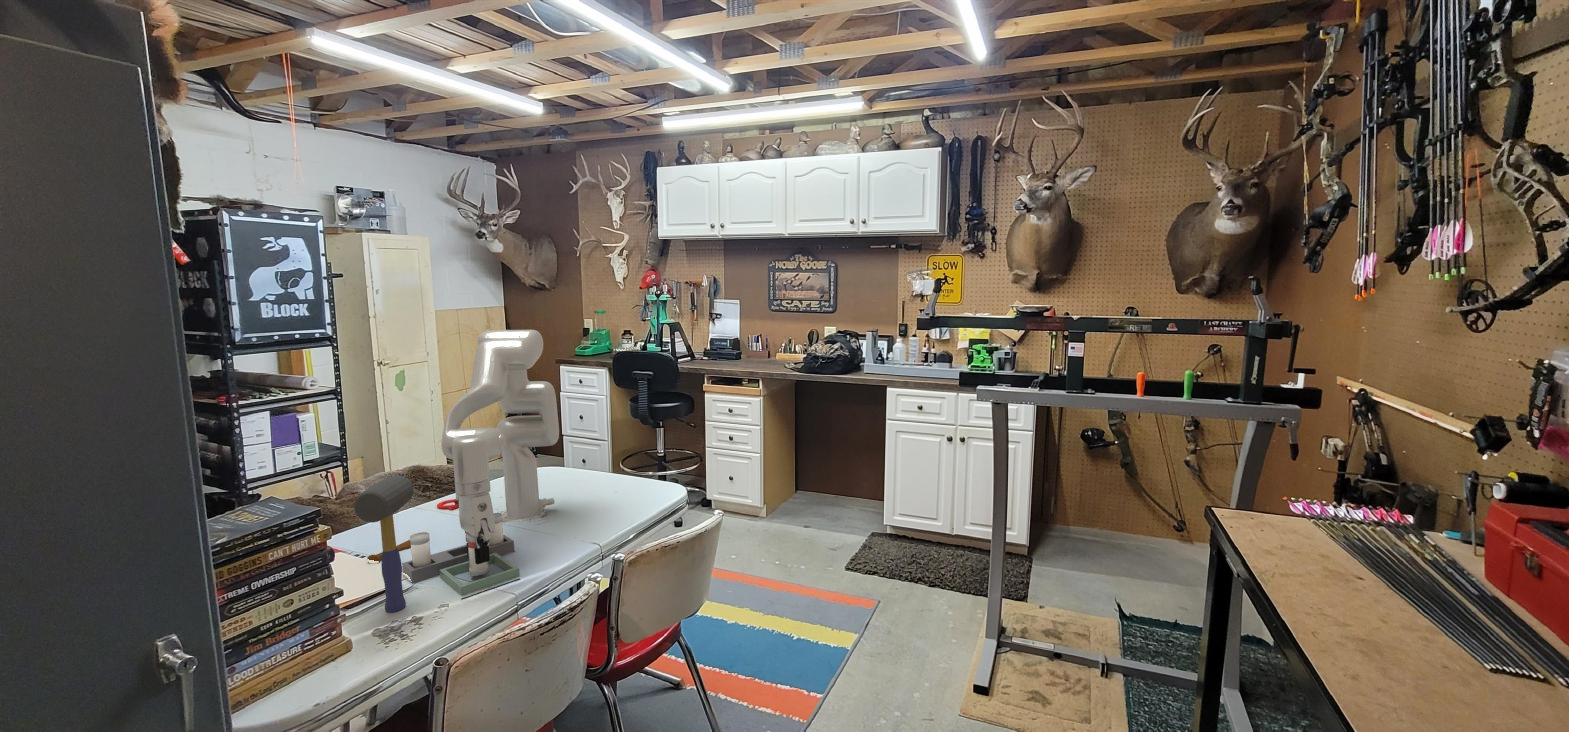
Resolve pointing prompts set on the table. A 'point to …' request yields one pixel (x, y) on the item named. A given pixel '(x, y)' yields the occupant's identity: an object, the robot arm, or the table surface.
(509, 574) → the tray
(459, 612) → the table surface
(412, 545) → the cylinder
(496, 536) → the cylinder
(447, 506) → the tow hook
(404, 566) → the fuse holder
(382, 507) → the rubber mallet
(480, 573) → the cylinder
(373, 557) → the primitive tool
